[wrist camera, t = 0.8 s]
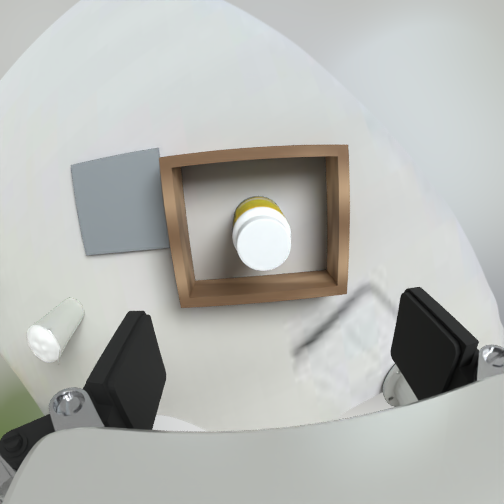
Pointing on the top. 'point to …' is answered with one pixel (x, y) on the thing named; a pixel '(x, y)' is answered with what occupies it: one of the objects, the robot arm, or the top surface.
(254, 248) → the supplement bottle
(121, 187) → the slate mat
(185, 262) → the walnut box
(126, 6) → the top surface
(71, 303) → the milkshake
